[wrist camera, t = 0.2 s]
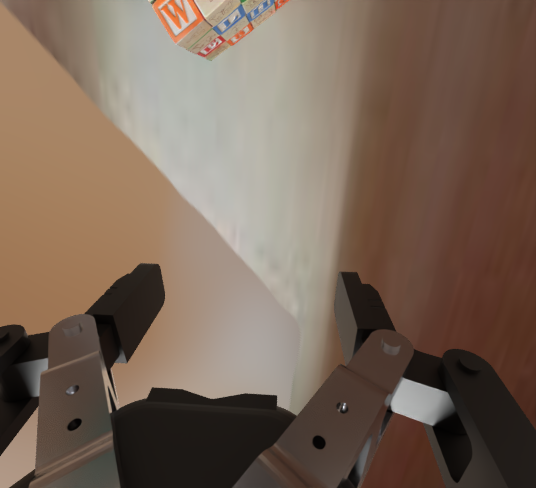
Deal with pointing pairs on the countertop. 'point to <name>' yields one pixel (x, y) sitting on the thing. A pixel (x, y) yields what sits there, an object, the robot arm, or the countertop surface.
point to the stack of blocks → (212, 22)
